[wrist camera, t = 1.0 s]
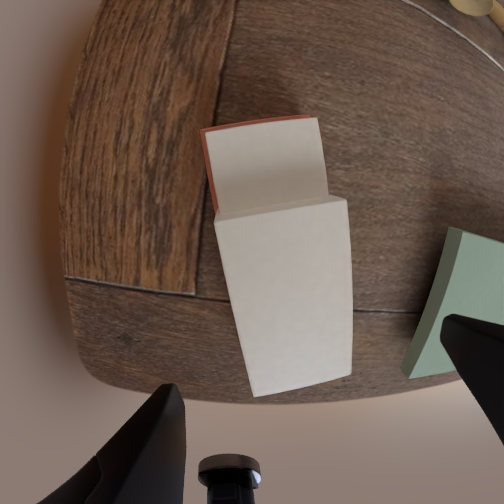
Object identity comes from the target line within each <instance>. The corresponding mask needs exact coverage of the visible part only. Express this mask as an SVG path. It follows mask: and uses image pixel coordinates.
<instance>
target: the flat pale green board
mask: <svg viewBox="0 0 504 504" xmlns="http://www.w3.org/2000/svg"><path fill="white" fill-rule="evenodd" d="M450 314H458V315H462V316H467V317H471V318H475V319H479V320H484V321H488V322H492V323H497V324H501V325H504V243H503V242H500V241H497V240H494V239H491V238H487V237H484V236H481V235H478V234H474V233H471V232H468V231H464V230H461V229H457V228H454V227H450V226H449V227H448V231H447V235H446V240H445V244H444V248H443V251H442V255H441V259H440V262H439V266H438V269H437V273H436V276H435V279H434V282H433V285H432V288H431V291H430V294H429V297H428V300H427V303H426V306H425V309H424V311H423V314H422V317H421V319H420V322H419V324H418V327H417V329H416V332H415V334H414V336H413V339H412V341H411V344H410V346H409V348H408V350H407V353H406V355H405V357H404V359H403V361H402V363H401V365H400V369H401V370H402V372H403V373H404V374H405V375H406V377H407V378H408V379H411V378H417V377H423V376H429V375H434V374H439V373H444V372H449V371H454V370H456V368H455V366H454V365H453V363H452V361H451V359H450V358H449V356H448V354H447V352H446V351H445V349H444V347H443V346H442V344H441V342H440V332H441V327H442V321H443V319H444V317H445V316H448V315H450Z"/></svg>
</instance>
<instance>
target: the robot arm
mask: <svg viewBox="0 0 504 504" xmlns="http://www.w3.org/2000/svg"><path fill="white" fill-rule="evenodd" d="M440 342H441V344H442V346H443V347H444V349H445V351H446V352H447V354H448V356H449V358H450V359H451V361H452V363H453V365H454V366H455V368H456V370H457V372H458V373H459V375H460V376H461V378H462V379H463V381H464V382H465V384H466V385H467V387H468V388H469V390H470V391H471V393H472V394H473V396H474V397H475V399H476V400H477V402H478V403H479V405H480V406H481V408H482V410H483V411H484V413H485V414H486V416H487V417H488V419H489V421H490V422H491V424H492V426H493V428H494V429H495V431H496V433H497V434H498V436H499V438H500V440H501V441H502V443H503V445H504V325H501V324H497V323H492V322H488V321H484V320H479V319H475V318H471V317H467V316H462V315H458V314H450V315H448V316H445V317H444V319H443V321H442V327H441V332H440ZM185 459H186V427H185V405H184V401H183V399H182V397H181V395H180V393H179V390H178V388H177V386H176V385H175V384H173V383H170V384H162V385H161V386H160V387H159V388H158V389H157V390H156V391H155V392H154V393H153V394H152V395H151V396H150V397H149V398H148V400H147V401H146V402H145V403H144V404H143V405H142V406H141V407H140V408H139V409H138V410H137V411H136V412H135V414H134V415H133V416H132V417H131V418H130V419H129V420H128V421H127V422H126V423H125V424H124V425H123V426H122V427H121V428H120V429H119V430H118V431H117V433H115V435H114V436H113V437H112V438H111V439H110V440H109V441H108V442H107V443H106V444H105V445H104V446H103V447H102V448H101V449H100V450H99V451H98V452H97V453H96V456H93V457H92V458H91V459H90V461H88V462H87V463H86V464H85V465H84V466H83V467H82V468H81V469H80V470H79V471H78V472H77V473H76V474H75V475H73V476H72V477H71V478H70V479H69V480H67V481H66V482H65V483H64V484H63V485H61V486H60V487H59V488H58V489H56V490H55V491H54V492H52V493H51V494H50V495H48V496H47V497H46V498H44V499H43V500H42V501H40V502H39V503H37V504H183V487H184V474H185V461H186V460H185ZM199 477H200V478H201V480H202V481H203V482H204V483H205V485H206V486H207V504H255V502H254V493H253V489H258V484H257V481H256V479H255V477H254V474H253V472H252V470H251V468H242V469H232V470H221V471H205V472H199Z"/></svg>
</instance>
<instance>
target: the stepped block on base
mask: <svg viewBox="0 0 504 504" xmlns="http://www.w3.org/2000/svg"><path fill="white" fill-rule="evenodd" d="M200 137H201V142H202V148H203V154H204V159H205V165H206V170H207V176H208V181H209V186H210V191H211V197H212V202H213V207H214V212H215V220H214V227H215V232H216V237H217V241H218V246H219V251H220V256H221V260H222V265H223V270H224V274H225V279H226V284H227V288H228V293H229V297H230V301H231V306H232V310H233V315H234V319H235V323H236V328H237V332H238V336H239V340H240V344H241V349H242V353H243V357H244V361H245V365H246V369H247V373H248V377H249V381H250V385H251V389H252V393H253V396H254V397H258V396H264V395H269V394H274V393H279V392H284V391H289V390H293V389H298V388H302V387H306V386H310V385H315V384H318V383H322V382H326V381H330V380H333V379H337V378H341V377H344V376H347V375H350V374H351V366H352V335H353V297H352V265H351V247H350V232H349V220H348V209H347V200H346V199H343V198H340V197H336V196H333V195H330V194H329V191H328V183H327V176H326V169H325V162H324V155H323V149H322V142H321V136H320V130H319V125H318V119H317V118H316V117H315V118H310V115H309V114H303V115H292V116H282V117H273V118H265V119H258V120H251V121H244V122H238V123H232V124H226V125H220V126H215V127H210V128H205V129H201V130H200Z"/></svg>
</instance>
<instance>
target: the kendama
mask: <svg viewBox="0 0 504 504" xmlns="http://www.w3.org/2000/svg"><path fill="white" fill-rule="evenodd" d="M448 1H449V2H450V4H451V5H452V6H453V7H454V8H456V9H457V10H459V11H460V12H462V13H465V14H468V15H472V16H483V15H487V14H488V15H489V17H490V18H491V19H492V20H493V21H494V22H495V24H496V25H497V26H498V27H499V29H500V30H501V31H502V32H503V34H504V8H503V7H502V6H501V5H500V4H499V3H498V2H497V1H496V0H448Z"/></svg>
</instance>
